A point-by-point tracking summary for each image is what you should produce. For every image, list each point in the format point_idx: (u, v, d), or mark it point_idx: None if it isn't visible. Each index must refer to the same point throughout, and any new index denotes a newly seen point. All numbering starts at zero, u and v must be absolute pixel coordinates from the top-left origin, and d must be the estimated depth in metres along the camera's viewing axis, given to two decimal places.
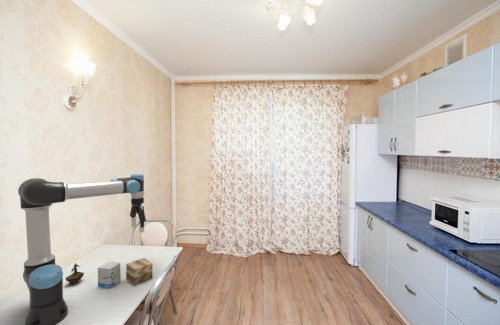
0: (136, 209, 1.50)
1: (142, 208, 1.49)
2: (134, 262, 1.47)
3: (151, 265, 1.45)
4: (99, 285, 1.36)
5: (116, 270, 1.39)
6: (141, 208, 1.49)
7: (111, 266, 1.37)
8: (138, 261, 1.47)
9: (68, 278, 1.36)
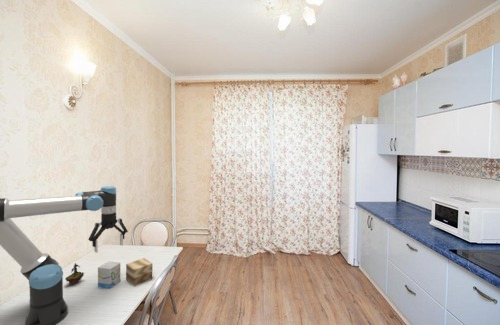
0: None
1: (95, 225, 1.32)
2: (134, 262, 1.46)
3: (151, 265, 1.45)
4: (99, 285, 1.36)
5: (116, 270, 1.39)
6: (95, 225, 1.33)
7: (111, 266, 1.37)
8: (138, 261, 1.47)
9: (68, 278, 1.36)
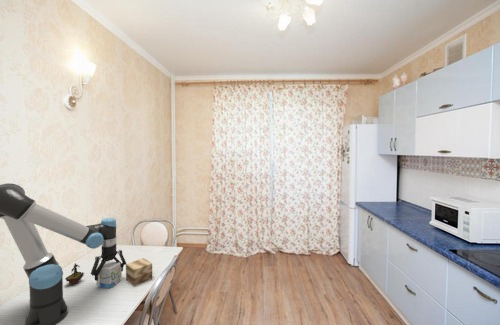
0: None
1: (96, 259, 1.33)
2: (134, 262, 1.46)
3: (151, 265, 1.45)
4: None
5: (116, 269, 1.39)
6: (95, 259, 1.33)
7: (111, 266, 1.37)
8: (138, 261, 1.47)
9: (68, 278, 1.36)
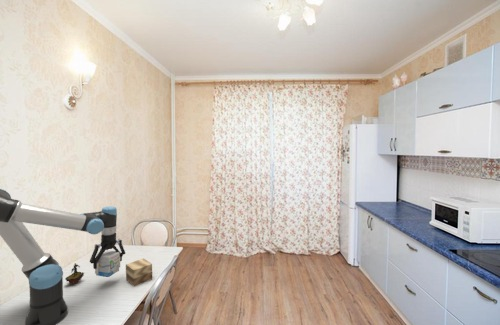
0: None
1: (95, 247, 1.33)
2: (134, 262, 1.46)
3: (151, 266, 1.44)
4: None
5: (115, 259, 1.38)
6: (95, 247, 1.33)
7: (110, 255, 1.36)
8: (138, 262, 1.47)
9: (68, 278, 1.36)
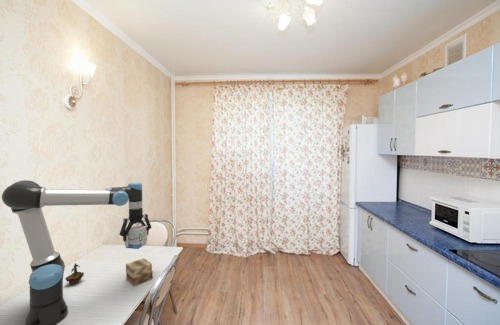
0: None
1: (124, 221, 1.37)
2: (134, 262, 1.46)
3: (150, 266, 1.44)
4: None
5: (143, 232, 1.43)
6: (124, 220, 1.38)
7: (138, 228, 1.41)
8: (138, 261, 1.47)
9: (68, 278, 1.36)
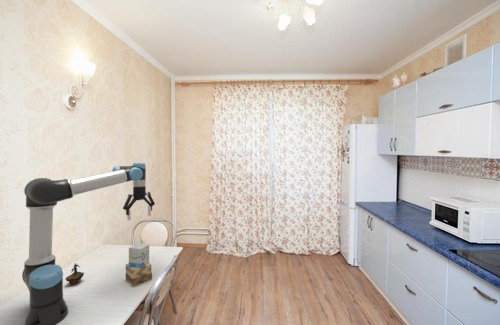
0: (134, 196, 1.54)
1: (129, 196, 1.49)
2: None
3: (150, 266, 1.44)
4: (130, 265, 1.41)
5: (146, 250, 1.44)
6: (128, 196, 1.50)
7: (141, 247, 1.42)
8: None
9: (68, 278, 1.36)
